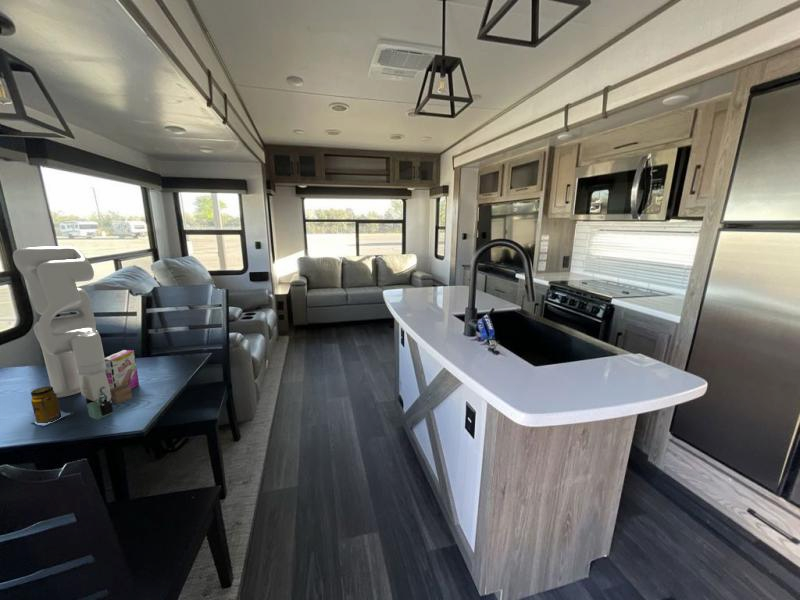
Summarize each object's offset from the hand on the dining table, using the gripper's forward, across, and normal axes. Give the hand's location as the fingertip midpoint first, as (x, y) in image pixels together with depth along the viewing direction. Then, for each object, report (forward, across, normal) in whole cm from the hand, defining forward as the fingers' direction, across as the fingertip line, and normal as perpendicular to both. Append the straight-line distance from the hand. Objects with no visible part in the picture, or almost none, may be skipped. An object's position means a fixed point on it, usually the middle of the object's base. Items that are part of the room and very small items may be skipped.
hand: (100, 410), depth 118 cm
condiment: (+2, -12, -9) cm, 15 cm away
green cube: (+2, 0, 0) cm, 2 cm away
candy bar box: (+2, -13, +13) cm, 18 cm away
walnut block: (+2, -6, +9) cm, 11 cm away
